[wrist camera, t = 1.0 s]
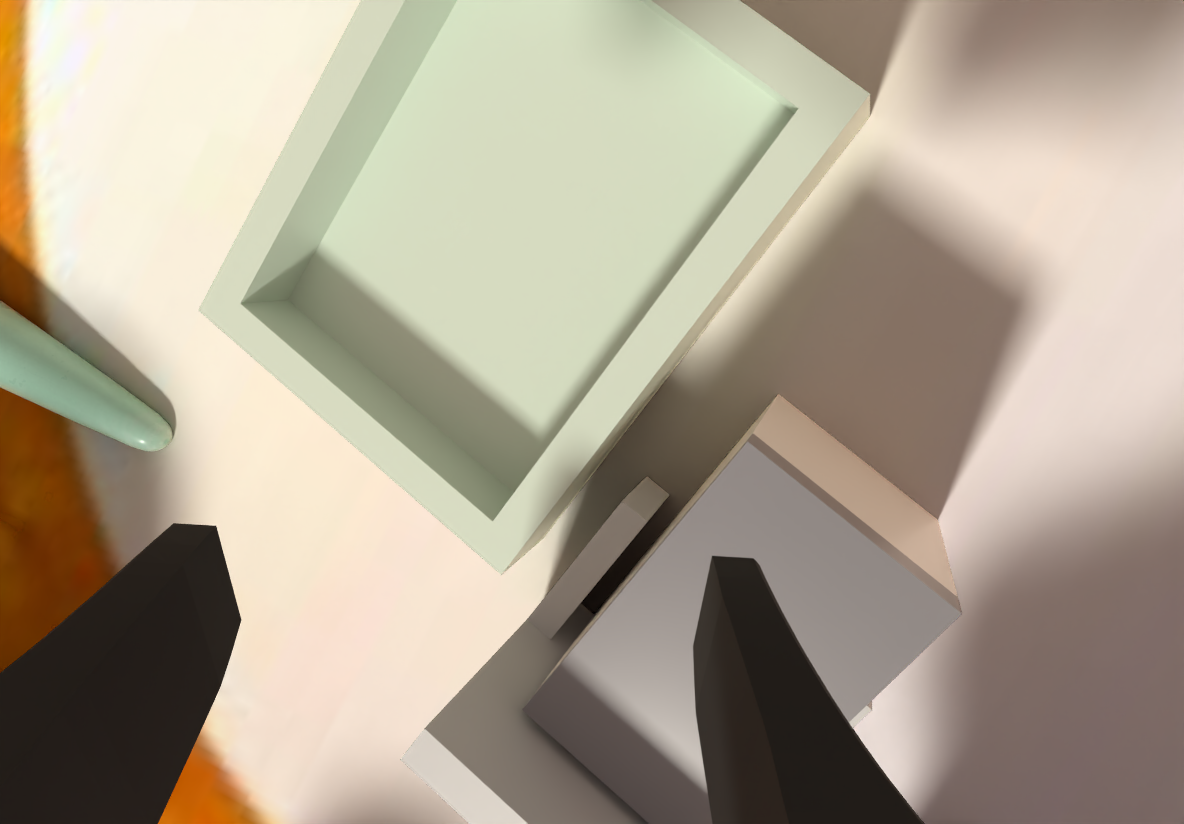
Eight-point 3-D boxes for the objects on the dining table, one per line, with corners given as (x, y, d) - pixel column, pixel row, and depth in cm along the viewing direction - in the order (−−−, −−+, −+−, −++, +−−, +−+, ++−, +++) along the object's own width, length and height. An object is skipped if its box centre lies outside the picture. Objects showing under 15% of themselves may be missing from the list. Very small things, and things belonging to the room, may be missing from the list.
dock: (871, 662, 22) (873, 868, 15) (745, 786, 24) (688, 1028, 17) (646, 476, 23) (541, 580, 16) (540, 608, 25) (399, 759, 18)
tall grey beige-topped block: (937, 518, 21) (962, 613, 16) (738, 723, 24) (697, 867, 18) (778, 393, 22) (747, 441, 16) (601, 605, 25) (521, 709, 19)
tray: (870, 116, 20) (869, 94, 17) (543, 538, 25) (501, 574, 22) (517, -138, 22) (464, -198, 19) (270, 304, 26) (198, 310, 23)
